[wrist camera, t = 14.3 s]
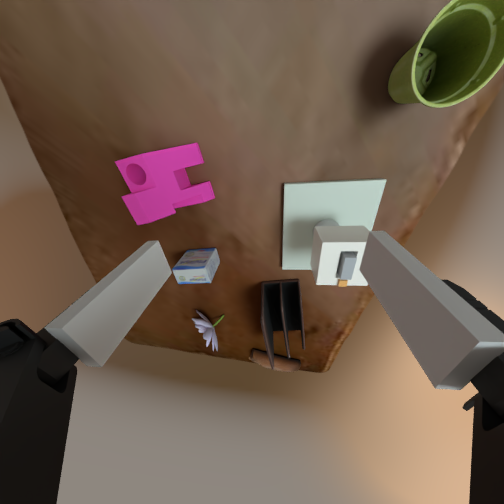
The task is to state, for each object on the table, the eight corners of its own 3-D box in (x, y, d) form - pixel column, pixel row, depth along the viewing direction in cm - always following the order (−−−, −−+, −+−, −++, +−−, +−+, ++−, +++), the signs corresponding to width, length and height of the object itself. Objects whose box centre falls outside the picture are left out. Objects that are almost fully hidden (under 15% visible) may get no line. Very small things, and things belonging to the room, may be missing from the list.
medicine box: (216, 247, 45) (205, 267, 38) (220, 261, 48) (210, 283, 40) (187, 249, 47) (170, 269, 39) (192, 263, 49) (178, 285, 41)
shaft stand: (284, 182, 36) (289, 204, 23) (382, 178, 34) (448, 199, 21) (282, 265, 46) (285, 313, 33) (357, 266, 44) (391, 317, 31)
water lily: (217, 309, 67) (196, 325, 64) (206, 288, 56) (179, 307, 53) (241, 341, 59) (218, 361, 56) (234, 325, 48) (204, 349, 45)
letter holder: (271, 327, 59) (270, 375, 47) (261, 280, 50) (257, 324, 38) (302, 327, 57) (310, 375, 45) (299, 277, 48) (307, 323, 36)
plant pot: (384, 37, 25) (430, -8, 18) (462, 22, 24) (548, -32, 16) (369, 120, 30) (400, 112, 22) (433, 112, 28) (490, 101, 21)
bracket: (166, 207, 41) (137, 225, 33) (143, 158, 36) (102, 163, 28) (215, 197, 39) (198, 213, 30) (197, 142, 34) (171, 142, 25)
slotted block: (314, 226, 32) (323, 244, 26) (363, 225, 31) (383, 243, 25) (310, 264, 36) (316, 286, 30) (353, 264, 35) (368, 287, 29)
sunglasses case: (247, 359, 70) (247, 371, 63) (252, 342, 70) (253, 352, 63) (292, 370, 71) (297, 383, 64) (297, 353, 71) (302, 364, 64)
